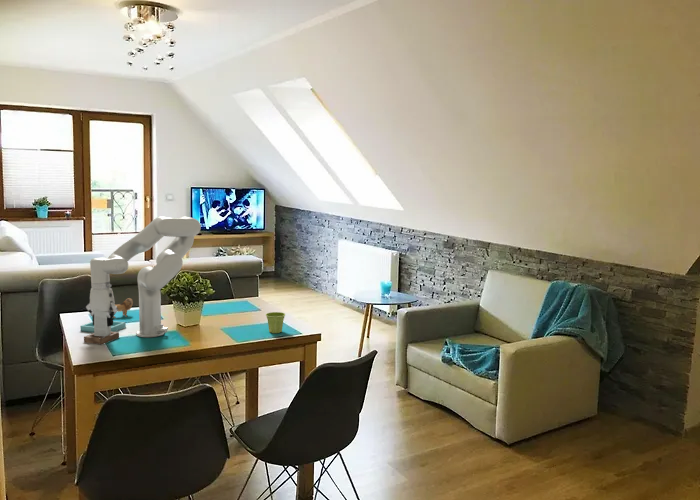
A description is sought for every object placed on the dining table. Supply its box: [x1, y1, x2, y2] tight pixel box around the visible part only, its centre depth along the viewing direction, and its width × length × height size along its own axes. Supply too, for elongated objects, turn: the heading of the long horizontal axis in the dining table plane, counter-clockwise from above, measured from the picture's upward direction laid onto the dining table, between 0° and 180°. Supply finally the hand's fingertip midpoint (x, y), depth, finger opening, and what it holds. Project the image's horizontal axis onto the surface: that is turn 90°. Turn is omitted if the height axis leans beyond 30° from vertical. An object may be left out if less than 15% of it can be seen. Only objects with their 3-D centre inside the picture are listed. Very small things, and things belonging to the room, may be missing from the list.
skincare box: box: [94, 310, 111, 338], centre depth 267 cm, size 6×4×12 cm
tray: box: [80, 320, 127, 334], centre depth 285 cm, size 15×13×2 cm
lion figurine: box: [112, 297, 134, 319], centre depth 309 cm, size 15×5×9 cm, turn 130°
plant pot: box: [265, 311, 286, 334], centre depth 288 cm, size 9×9×9 cm
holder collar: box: [83, 331, 120, 345], centre depth 267 cm, size 9×11×2 cm
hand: (103, 324), depth 267 cm, fingers closed on skincare box, 7 cm apart
